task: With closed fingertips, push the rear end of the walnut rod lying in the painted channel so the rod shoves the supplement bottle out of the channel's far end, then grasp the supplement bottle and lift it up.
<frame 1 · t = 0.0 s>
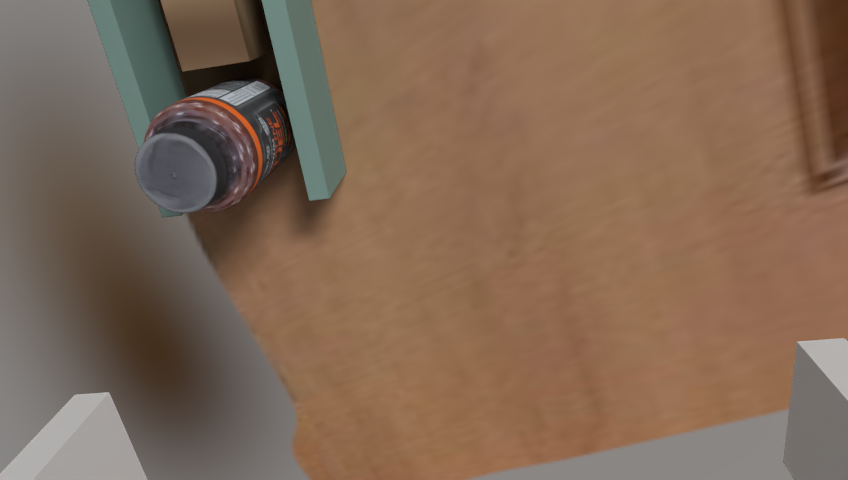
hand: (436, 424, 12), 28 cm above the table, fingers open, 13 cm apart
channel: (234, 40, 37), on the table
supplement bottle: (256, 121, 39), on the table
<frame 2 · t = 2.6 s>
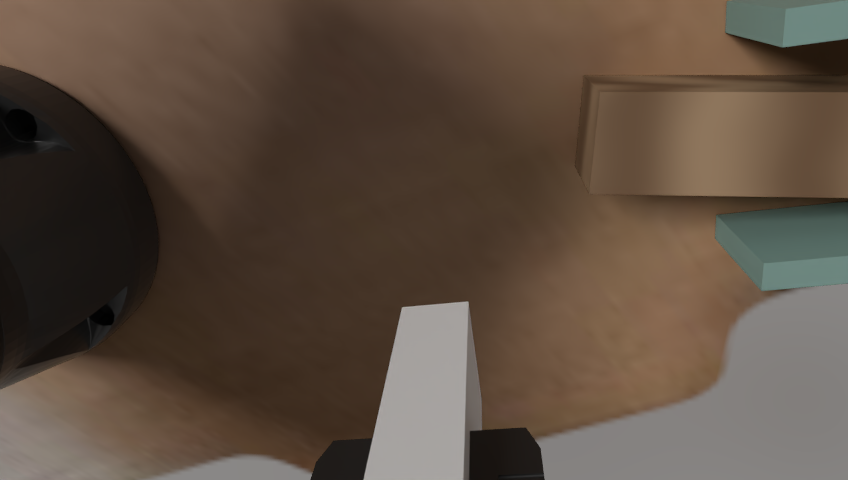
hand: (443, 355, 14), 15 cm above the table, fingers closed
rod: (766, 121, 26), on the table
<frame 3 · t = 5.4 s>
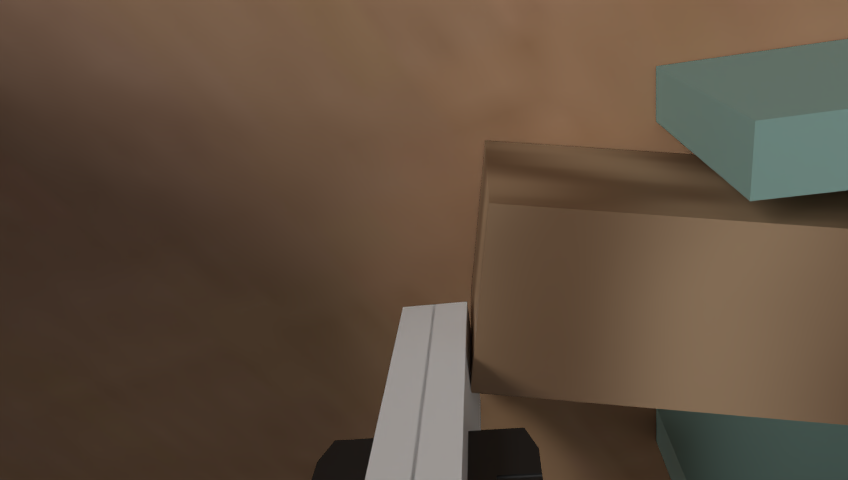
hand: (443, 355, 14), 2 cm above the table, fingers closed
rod: (815, 245, 14), on the table, touching supplement bottle, gripper
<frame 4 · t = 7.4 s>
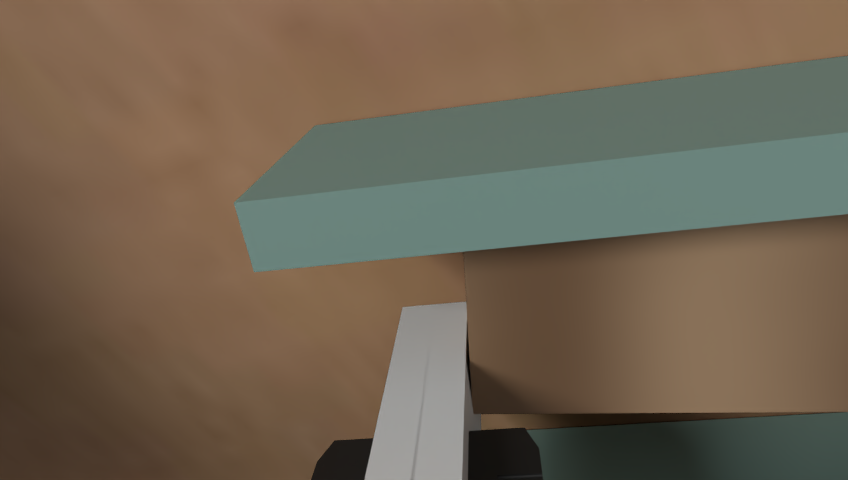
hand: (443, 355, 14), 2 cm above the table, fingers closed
channel: (718, 289, 15), on the table
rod: (821, 224, 14), on the table, touching supplement bottle, gripper
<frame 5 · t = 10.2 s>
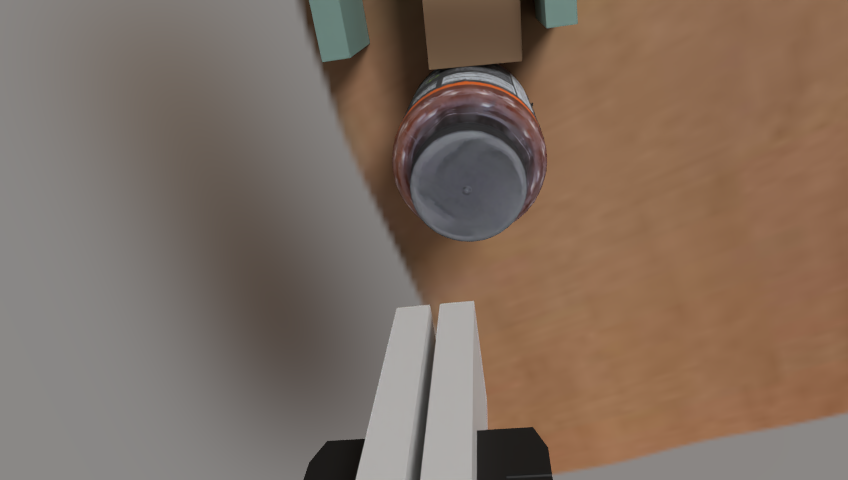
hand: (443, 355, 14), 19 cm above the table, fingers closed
supplement bottle: (470, 114, 31), on the table
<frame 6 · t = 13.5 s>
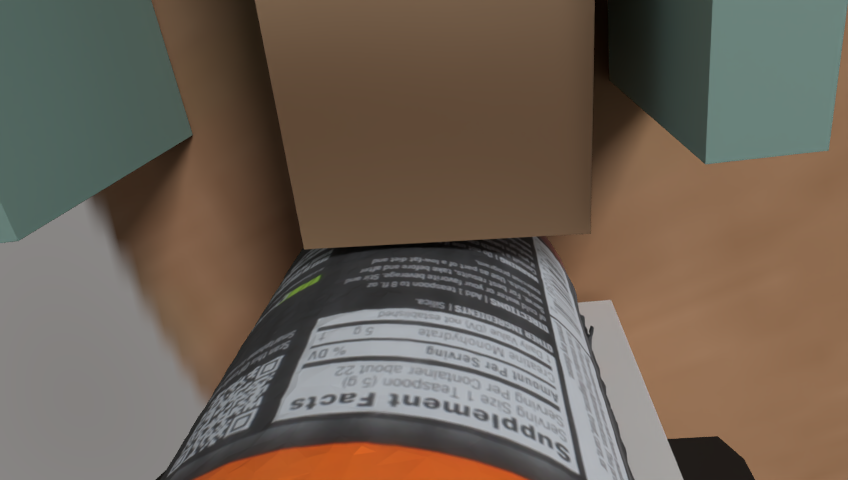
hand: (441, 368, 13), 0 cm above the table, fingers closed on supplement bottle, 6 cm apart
supplement bottle: (433, 296, 13), on the table, touching gripper
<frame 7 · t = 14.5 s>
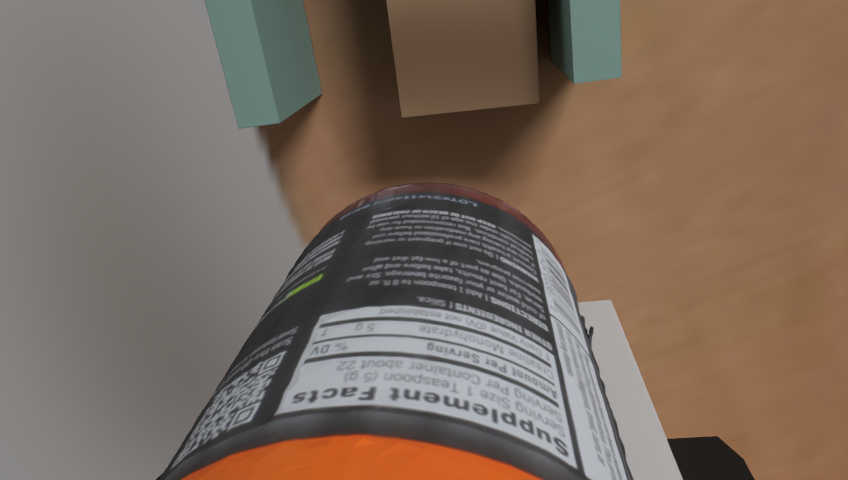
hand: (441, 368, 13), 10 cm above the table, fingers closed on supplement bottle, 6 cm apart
supplement bottle: (434, 297, 13), point 9 cm above the table, touching gripper
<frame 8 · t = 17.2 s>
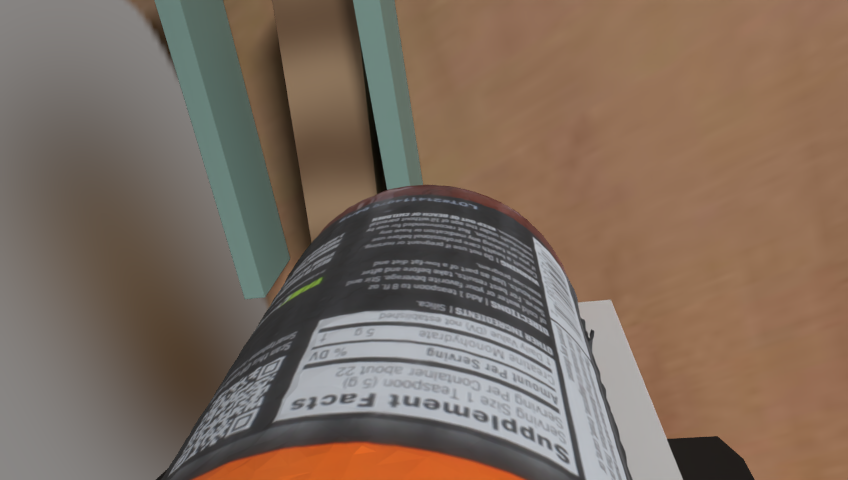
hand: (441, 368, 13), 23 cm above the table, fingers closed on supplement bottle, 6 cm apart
channel: (320, 110, 34), on the table
supplement bottle: (434, 299, 13), point 22 cm above the table, touching gripper
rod: (349, 133, 35), on the table
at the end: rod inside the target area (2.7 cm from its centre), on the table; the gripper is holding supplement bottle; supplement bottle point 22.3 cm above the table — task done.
